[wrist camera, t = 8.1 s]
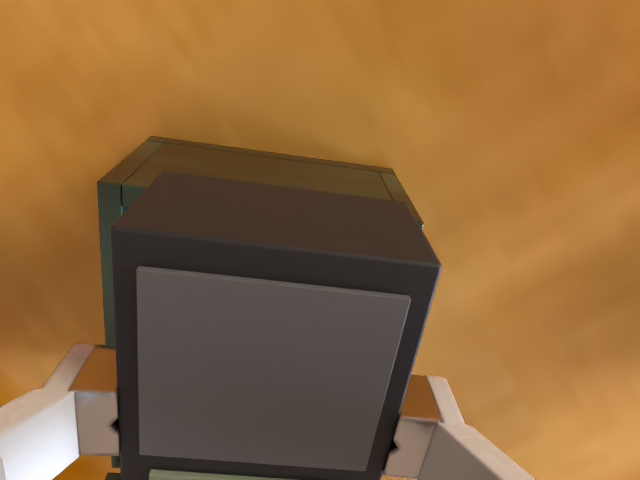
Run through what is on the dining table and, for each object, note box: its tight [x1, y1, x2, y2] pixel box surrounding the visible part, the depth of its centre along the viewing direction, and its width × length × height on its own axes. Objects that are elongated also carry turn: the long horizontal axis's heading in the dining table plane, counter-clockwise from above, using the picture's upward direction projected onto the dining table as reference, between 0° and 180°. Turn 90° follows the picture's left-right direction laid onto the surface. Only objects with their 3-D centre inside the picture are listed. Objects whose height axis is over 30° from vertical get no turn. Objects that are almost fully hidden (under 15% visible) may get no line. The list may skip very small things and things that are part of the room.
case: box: [97, 136, 424, 468], centre depth 22 cm, size 14×11×6 cm
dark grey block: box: [111, 171, 442, 480], centre depth 12 cm, size 9×6×4 cm, turn 172°
